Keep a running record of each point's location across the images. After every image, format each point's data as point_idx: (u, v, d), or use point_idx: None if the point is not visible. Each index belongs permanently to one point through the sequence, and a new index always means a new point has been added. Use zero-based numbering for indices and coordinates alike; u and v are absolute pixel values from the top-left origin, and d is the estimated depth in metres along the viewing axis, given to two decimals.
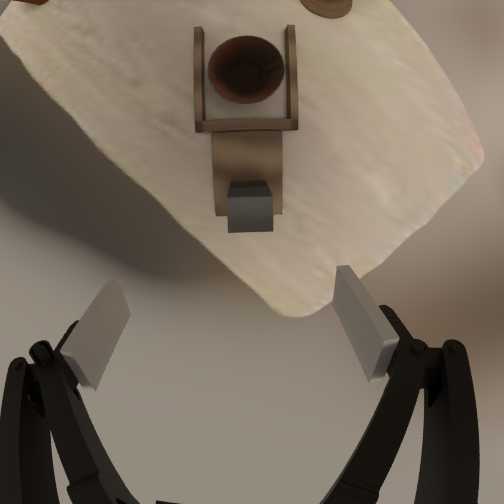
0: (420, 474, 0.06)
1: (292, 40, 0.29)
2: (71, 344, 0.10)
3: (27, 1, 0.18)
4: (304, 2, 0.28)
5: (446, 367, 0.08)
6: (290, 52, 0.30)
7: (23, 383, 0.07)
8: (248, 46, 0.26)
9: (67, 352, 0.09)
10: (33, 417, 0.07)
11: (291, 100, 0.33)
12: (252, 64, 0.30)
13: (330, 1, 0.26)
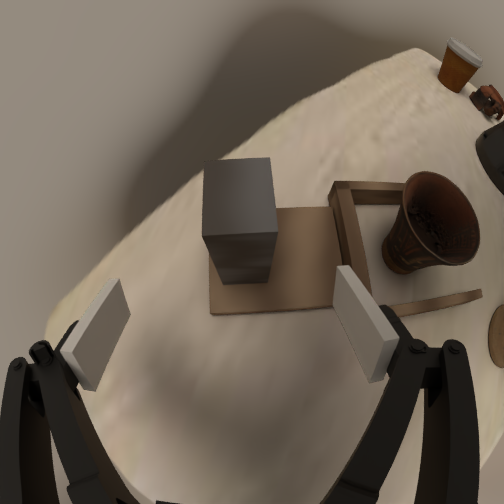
0: (420, 475, 0.06)
1: (467, 297, 0.22)
2: (71, 344, 0.10)
3: (443, 63, 0.37)
4: (499, 311, 0.23)
5: (446, 367, 0.08)
6: (454, 296, 0.22)
7: (23, 383, 0.07)
8: (461, 226, 0.20)
9: (67, 352, 0.09)
10: (33, 417, 0.07)
11: (399, 306, 0.22)
12: (433, 245, 0.23)
13: None
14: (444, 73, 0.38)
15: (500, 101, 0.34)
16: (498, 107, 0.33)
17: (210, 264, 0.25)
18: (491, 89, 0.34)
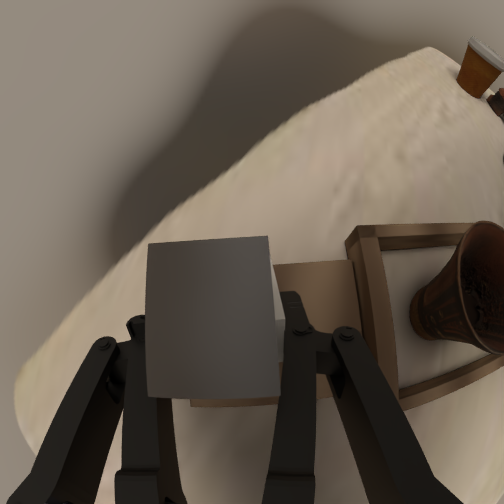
0: (358, 464, 0.07)
1: (500, 362, 0.15)
2: None
3: (464, 65, 0.30)
4: None
5: (343, 357, 0.09)
6: (488, 365, 0.15)
7: (105, 368, 0.09)
8: None
9: None
10: (104, 404, 0.08)
11: (428, 391, 0.15)
12: (474, 309, 0.16)
13: None
14: (465, 76, 0.32)
15: None
16: None
17: None
18: None
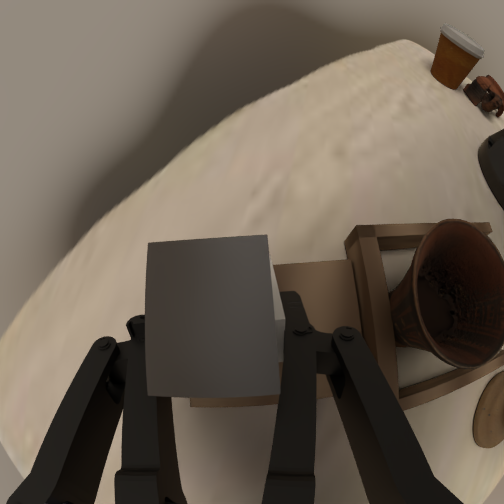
0: (358, 464, 0.07)
1: (500, 361, 0.15)
2: None
3: (437, 54, 0.30)
4: (493, 385, 0.16)
5: (343, 357, 0.09)
6: (488, 364, 0.15)
7: (104, 368, 0.09)
8: (487, 293, 0.13)
9: None
10: (104, 404, 0.08)
11: (428, 390, 0.15)
12: (447, 315, 0.16)
13: (501, 418, 0.13)
14: (439, 66, 0.32)
15: (500, 94, 0.27)
16: (499, 101, 0.26)
17: None
18: (489, 80, 0.28)
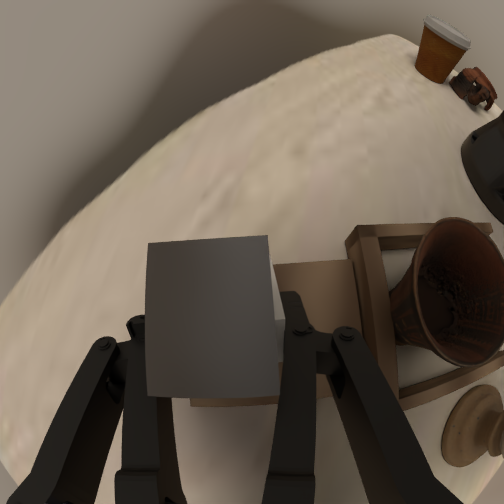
0: (358, 464, 0.07)
1: (501, 362, 0.15)
2: None
3: (420, 47, 0.30)
4: (465, 400, 0.16)
5: (343, 357, 0.09)
6: (489, 365, 0.15)
7: (105, 368, 0.09)
8: (487, 288, 0.13)
9: None
10: (104, 404, 0.08)
11: (428, 390, 0.15)
12: (447, 312, 0.16)
13: (473, 437, 0.13)
14: (422, 60, 0.31)
15: (488, 87, 0.27)
16: (485, 93, 0.26)
17: None
18: (476, 72, 0.27)
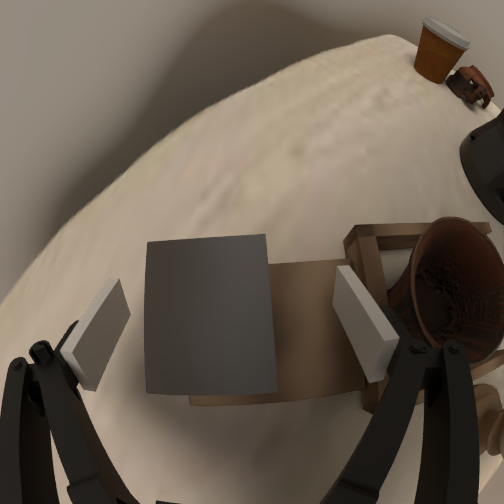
0: (420, 474, 0.06)
1: (499, 361, 0.15)
2: (71, 344, 0.10)
3: (419, 47, 0.30)
4: None
5: (446, 367, 0.08)
6: (487, 364, 0.15)
7: (23, 383, 0.07)
8: (485, 287, 0.13)
9: (67, 352, 0.09)
10: (33, 417, 0.07)
11: None
12: (445, 311, 0.16)
13: None
14: (421, 60, 0.32)
15: (485, 85, 0.27)
16: (482, 91, 0.27)
17: None
18: (473, 70, 0.28)
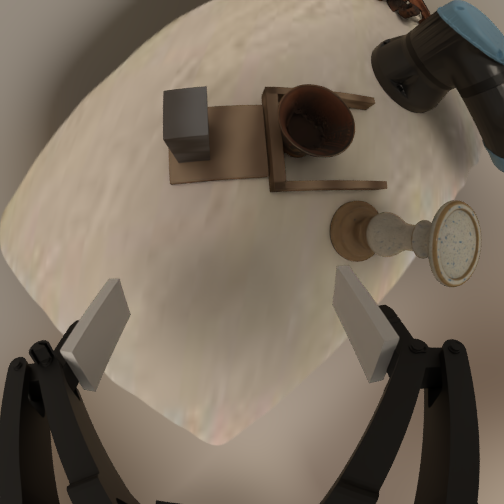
0: (420, 475, 0.06)
1: (371, 185, 0.34)
2: (71, 344, 0.10)
3: None
4: (345, 205, 0.36)
5: (446, 367, 0.08)
6: (358, 182, 0.34)
7: (23, 383, 0.07)
8: (340, 125, 0.29)
9: (67, 352, 0.09)
10: (33, 417, 0.07)
11: (307, 181, 0.33)
12: (319, 137, 0.32)
13: (352, 233, 0.36)
14: None
15: (421, 7, 0.29)
16: (413, 11, 0.30)
17: (169, 149, 0.32)
18: None
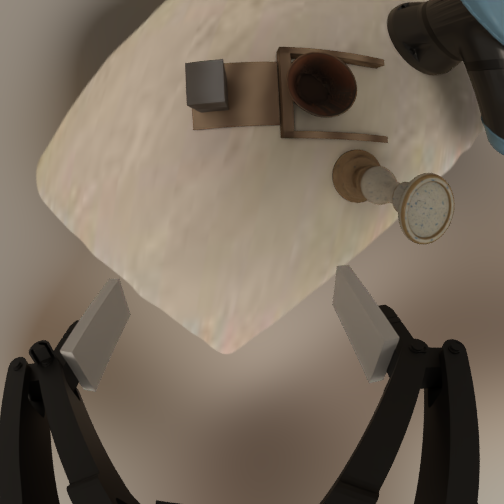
0: (420, 474, 0.06)
1: (372, 138, 0.36)
2: (71, 344, 0.10)
3: None
4: (347, 153, 0.39)
5: (446, 367, 0.08)
6: (360, 135, 0.36)
7: (23, 383, 0.07)
8: (344, 88, 0.29)
9: (67, 352, 0.09)
10: (33, 417, 0.07)
11: (312, 132, 0.36)
12: (326, 95, 0.33)
13: (351, 178, 0.39)
14: None
15: None
16: None
17: None
18: None
